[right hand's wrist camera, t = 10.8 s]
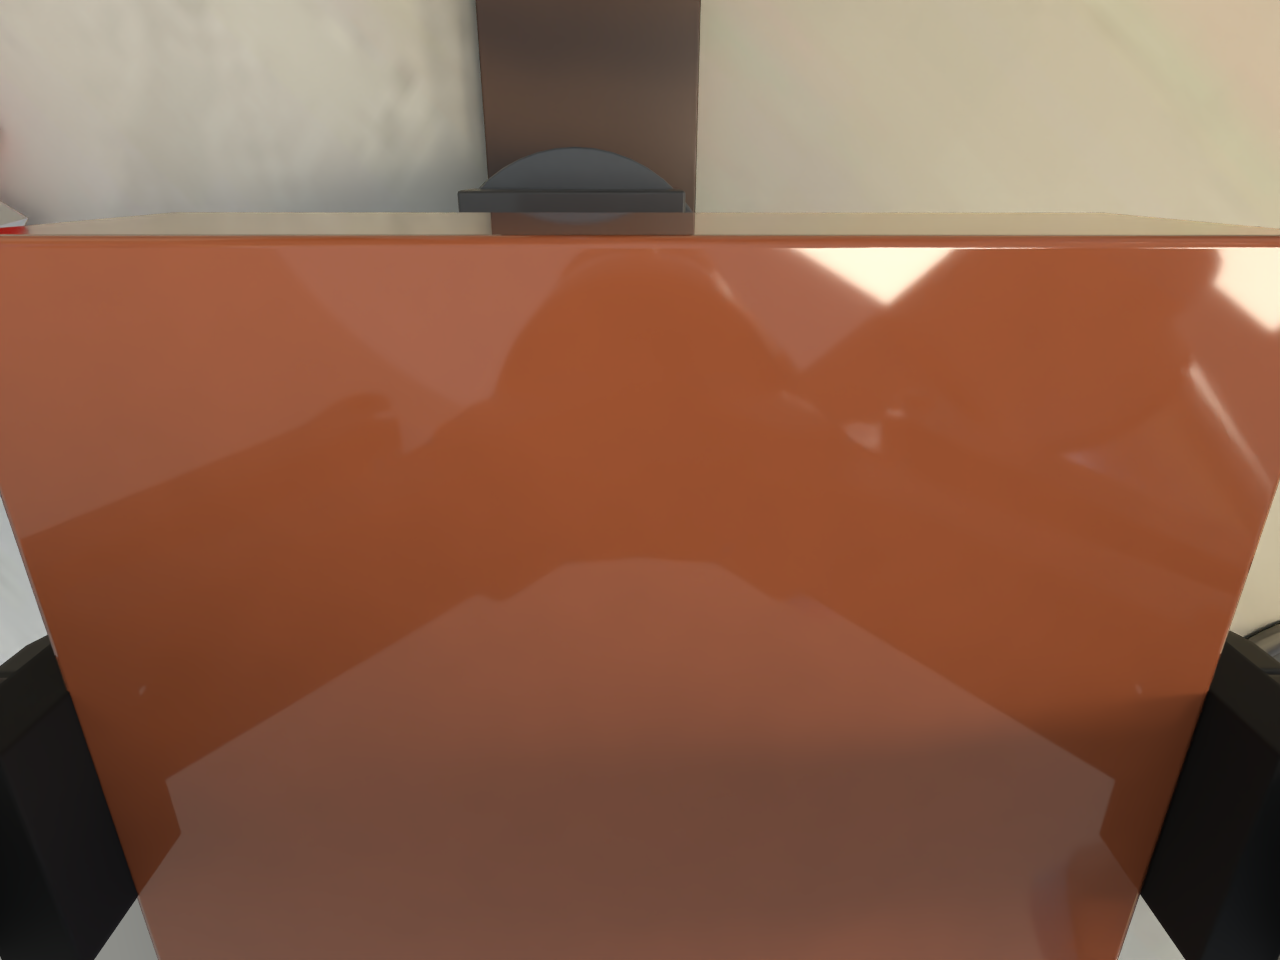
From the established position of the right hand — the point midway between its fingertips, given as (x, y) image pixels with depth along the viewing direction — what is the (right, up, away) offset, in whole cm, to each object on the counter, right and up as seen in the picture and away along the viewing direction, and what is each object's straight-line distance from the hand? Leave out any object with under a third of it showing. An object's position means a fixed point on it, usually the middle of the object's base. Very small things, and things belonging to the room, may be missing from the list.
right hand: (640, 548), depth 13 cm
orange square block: (0, 0, -1) cm, 1 cm away
